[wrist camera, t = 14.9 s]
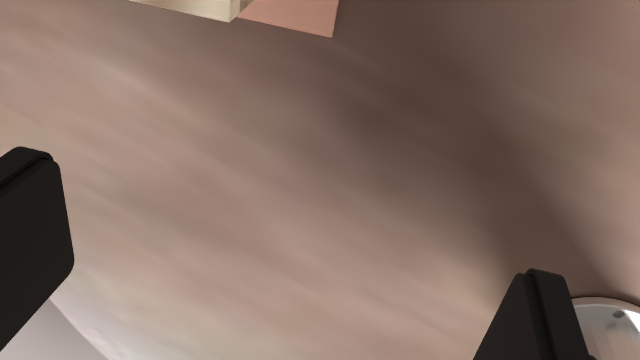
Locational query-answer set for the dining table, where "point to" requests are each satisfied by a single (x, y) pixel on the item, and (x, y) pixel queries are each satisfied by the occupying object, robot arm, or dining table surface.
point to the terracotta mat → (295, 14)
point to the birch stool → (203, 7)
